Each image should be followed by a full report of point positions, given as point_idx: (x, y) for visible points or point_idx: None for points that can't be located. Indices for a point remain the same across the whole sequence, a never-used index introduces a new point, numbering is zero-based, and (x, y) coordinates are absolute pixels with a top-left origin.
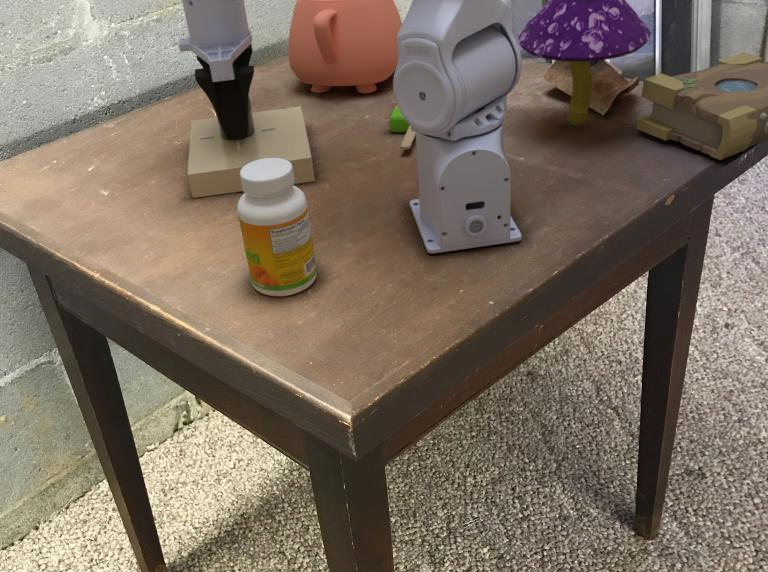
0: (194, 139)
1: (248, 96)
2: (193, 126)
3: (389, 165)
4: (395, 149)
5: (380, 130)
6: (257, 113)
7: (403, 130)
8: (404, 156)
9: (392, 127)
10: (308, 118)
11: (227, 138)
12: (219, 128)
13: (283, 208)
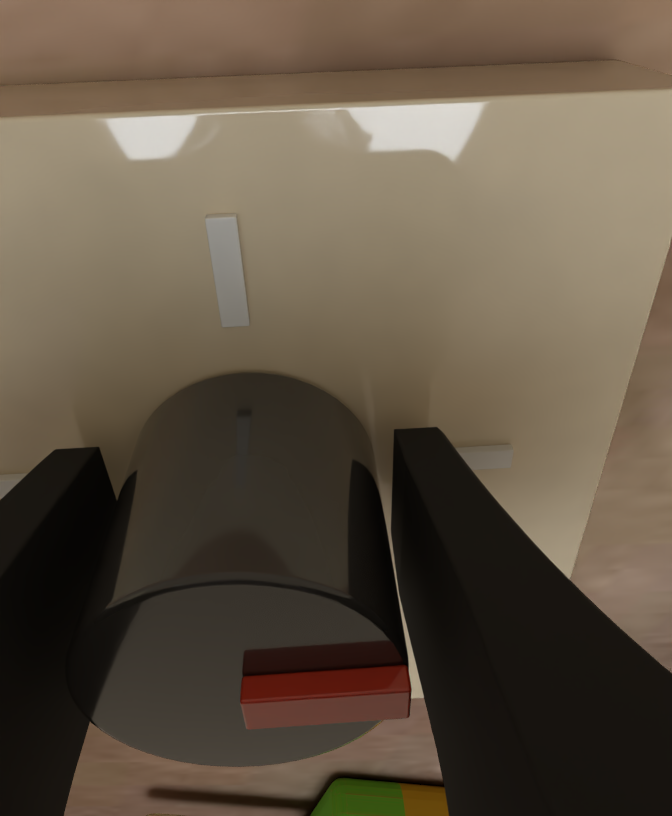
0: (217, 157)
1: (284, 762)
2: (555, 122)
3: (88, 770)
4: (208, 778)
5: (372, 755)
6: (556, 544)
7: (321, 801)
8: (151, 791)
9: (331, 798)
10: (610, 604)
11: (44, 458)
12: (198, 416)
13: None
